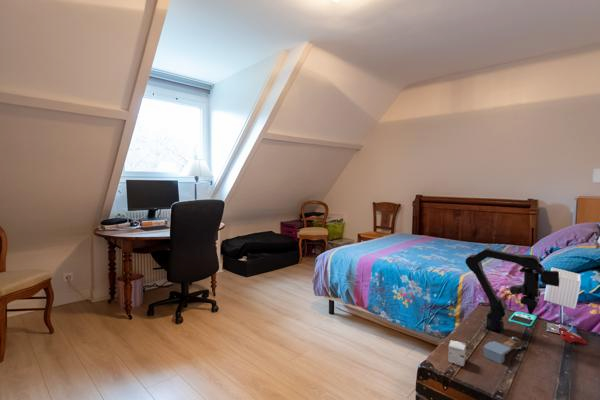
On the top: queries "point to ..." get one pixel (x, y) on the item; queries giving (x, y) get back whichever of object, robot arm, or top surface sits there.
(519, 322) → the handheld game console
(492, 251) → the robot arm
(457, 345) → the skincare box
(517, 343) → the link
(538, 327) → the top surface
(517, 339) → the pintle
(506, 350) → the block
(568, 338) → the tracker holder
